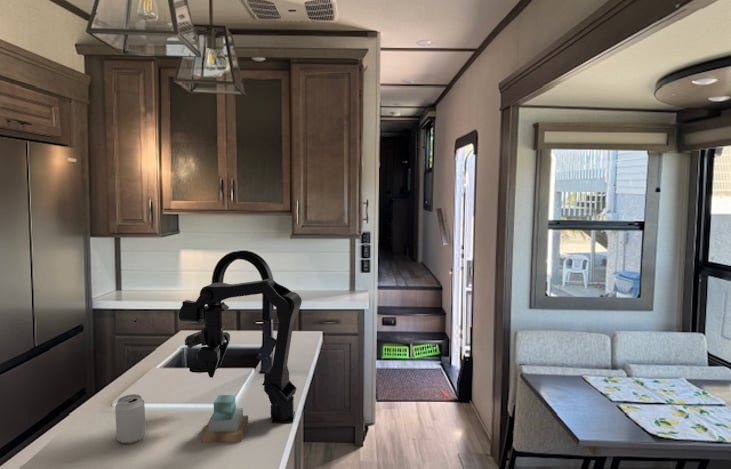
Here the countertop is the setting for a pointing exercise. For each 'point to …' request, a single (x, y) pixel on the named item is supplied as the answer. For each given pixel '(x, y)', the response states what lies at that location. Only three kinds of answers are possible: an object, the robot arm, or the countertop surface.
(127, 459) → the countertop surface
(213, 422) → the grey block
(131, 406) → the can
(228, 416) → the teal block
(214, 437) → the walnut slab
